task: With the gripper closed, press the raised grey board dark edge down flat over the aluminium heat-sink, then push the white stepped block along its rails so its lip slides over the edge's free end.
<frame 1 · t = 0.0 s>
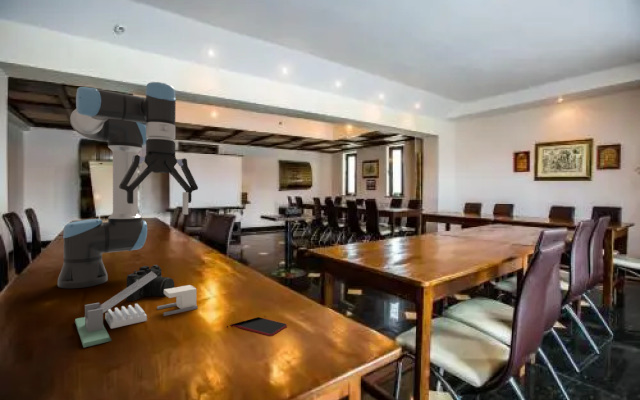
hand: (160, 215, 95), 28 cm above the table, fingers open, 13 cm apart
white stepped block: (180, 298, 96), point 4 cm above the table, slide at 0.0 cm
smartphone: (256, 327, 88), on the table
camera: (152, 299, 108), on the table
heatsink board: (108, 327, 85), on the table
grey board dark edge: (124, 293, 87), point 8 cm above the table, hinge at 30.0°
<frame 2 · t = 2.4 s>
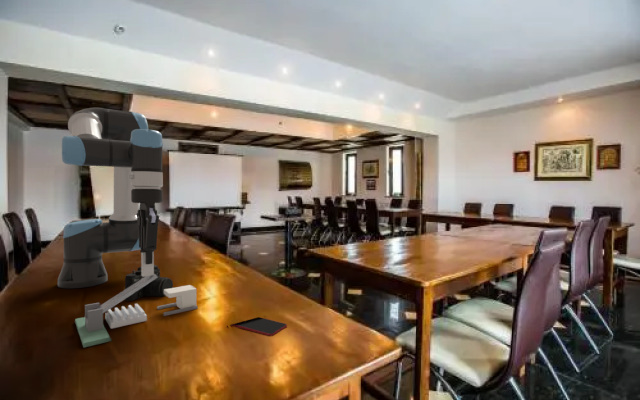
hand: (147, 275, 90), 12 cm above the table, fingers closed
grey board dark edge: (124, 294, 87), point 8 cm above the table, hinge at 28.8°, touching gripper
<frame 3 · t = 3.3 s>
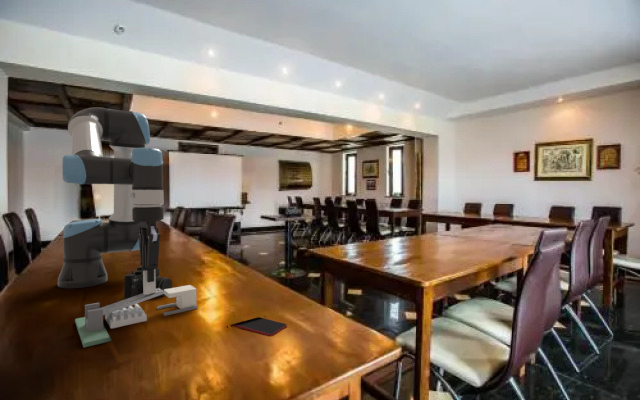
hand: (149, 293, 90), 7 cm above the table, fingers closed
grey board dark edge: (128, 302, 87), point 6 cm above the table, hinge at 10.7°, touching gripper
everything else where it was.
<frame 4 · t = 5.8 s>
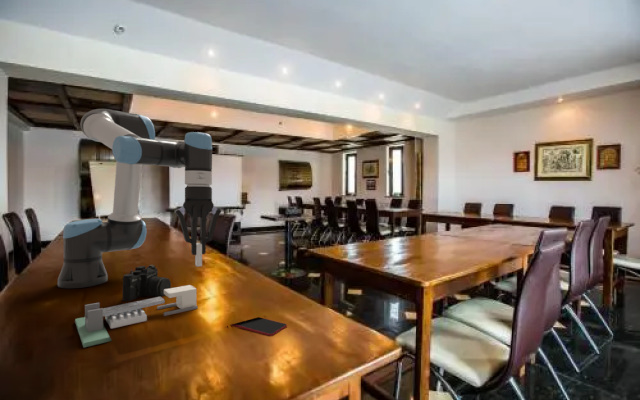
hand: (198, 265, 99), 13 cm above the table, fingers closed
grey board dark edge: (128, 306, 88), point 4 cm above the table, hinge at 1.5°
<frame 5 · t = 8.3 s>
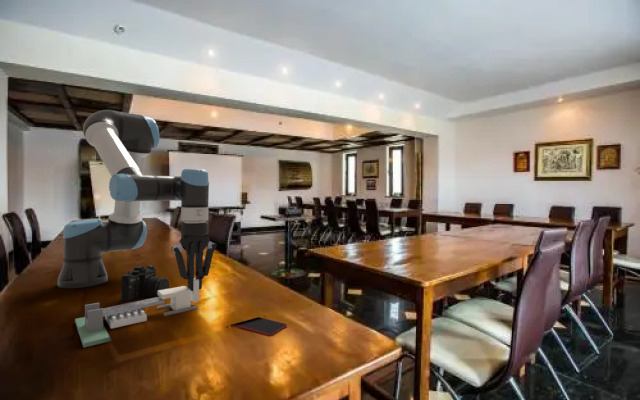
hand: (194, 300, 99), 2 cm above the table, fingers closed
white stepped block: (174, 299, 95), point 4 cm above the table, slide at 1.7 cm, touching gripper
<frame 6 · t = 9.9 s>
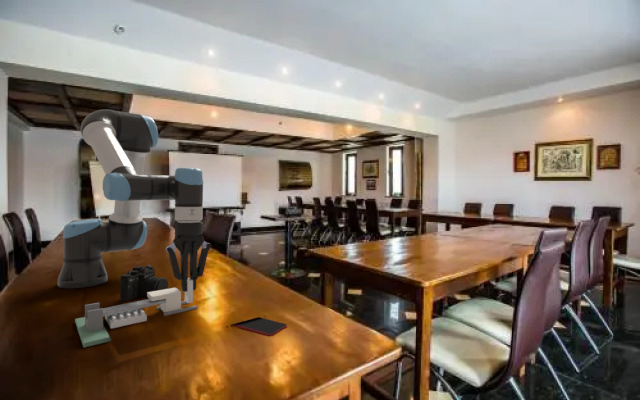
hand: (188, 301, 98), 3 cm above the table, fingers closed
white stepped block: (164, 301, 93), point 4 cm above the table, slide at 4.3 cm
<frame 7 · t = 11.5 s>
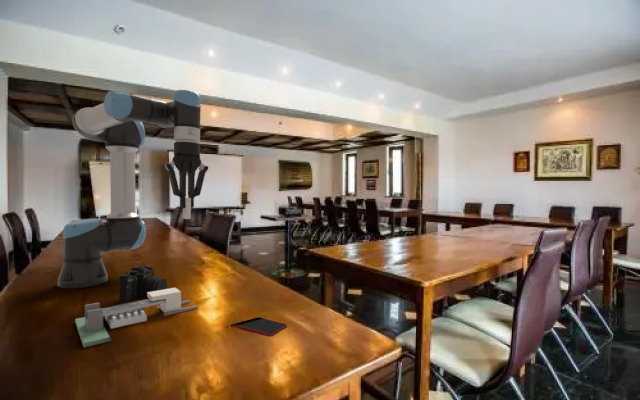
hand: (186, 218, 104), 26 cm above the table, fingers closed
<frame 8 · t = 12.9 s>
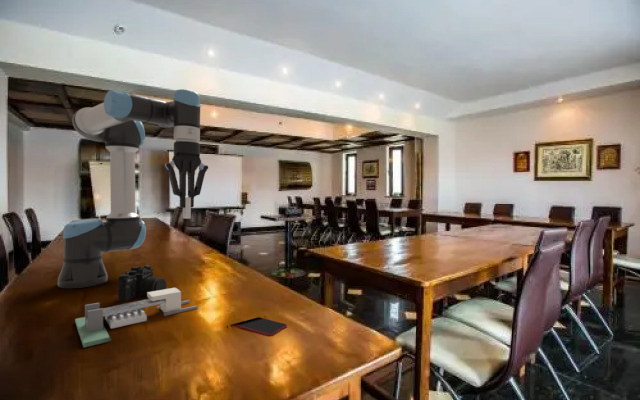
hand: (186, 218, 104), 26 cm above the table, fingers closed
at the end: grey board dark edge at +2° (first picture: +30°); white stepped block slide at 4.3 cm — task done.
